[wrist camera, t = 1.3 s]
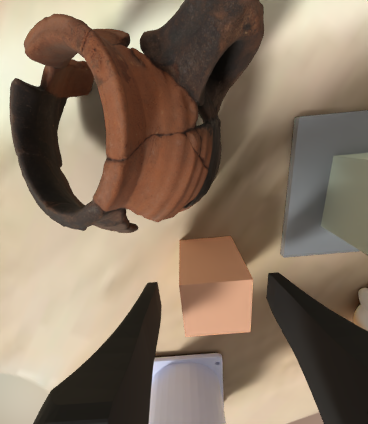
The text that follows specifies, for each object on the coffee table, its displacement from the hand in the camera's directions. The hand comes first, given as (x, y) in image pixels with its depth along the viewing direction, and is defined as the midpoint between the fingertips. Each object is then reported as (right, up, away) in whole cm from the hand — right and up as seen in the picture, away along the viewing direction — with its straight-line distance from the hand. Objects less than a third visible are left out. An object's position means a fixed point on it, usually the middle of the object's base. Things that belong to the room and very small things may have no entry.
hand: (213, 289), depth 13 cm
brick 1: (0, +1, +3) cm, 4 cm away
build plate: (+10, +7, +1) cm, 13 cm away
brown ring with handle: (-4, +10, 0) cm, 11 cm away
